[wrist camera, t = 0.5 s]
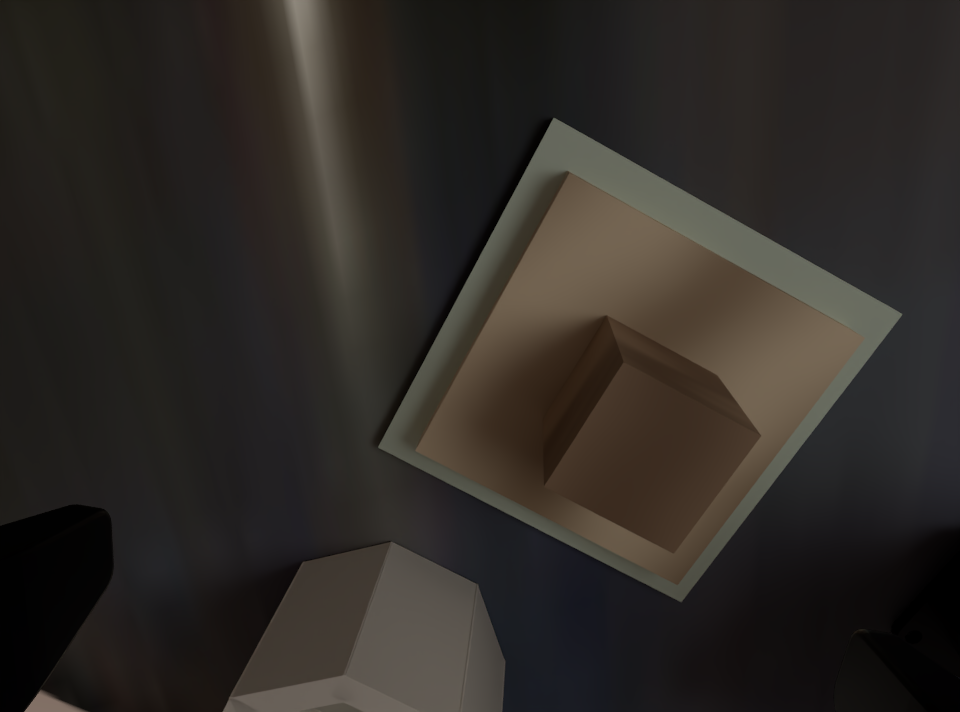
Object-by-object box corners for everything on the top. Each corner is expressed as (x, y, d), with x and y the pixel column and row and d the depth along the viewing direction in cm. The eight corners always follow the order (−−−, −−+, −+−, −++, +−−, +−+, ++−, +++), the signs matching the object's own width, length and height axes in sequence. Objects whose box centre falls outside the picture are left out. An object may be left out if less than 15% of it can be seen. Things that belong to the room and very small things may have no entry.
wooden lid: (849, 327, 20) (948, 391, 15) (671, 565, 22) (707, 684, 18) (567, 171, 19) (577, 185, 14) (420, 436, 22) (387, 523, 17)
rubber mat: (895, 310, 20) (902, 314, 19) (678, 594, 23) (681, 602, 23) (553, 117, 19) (554, 117, 18) (380, 442, 22) (377, 447, 22)
